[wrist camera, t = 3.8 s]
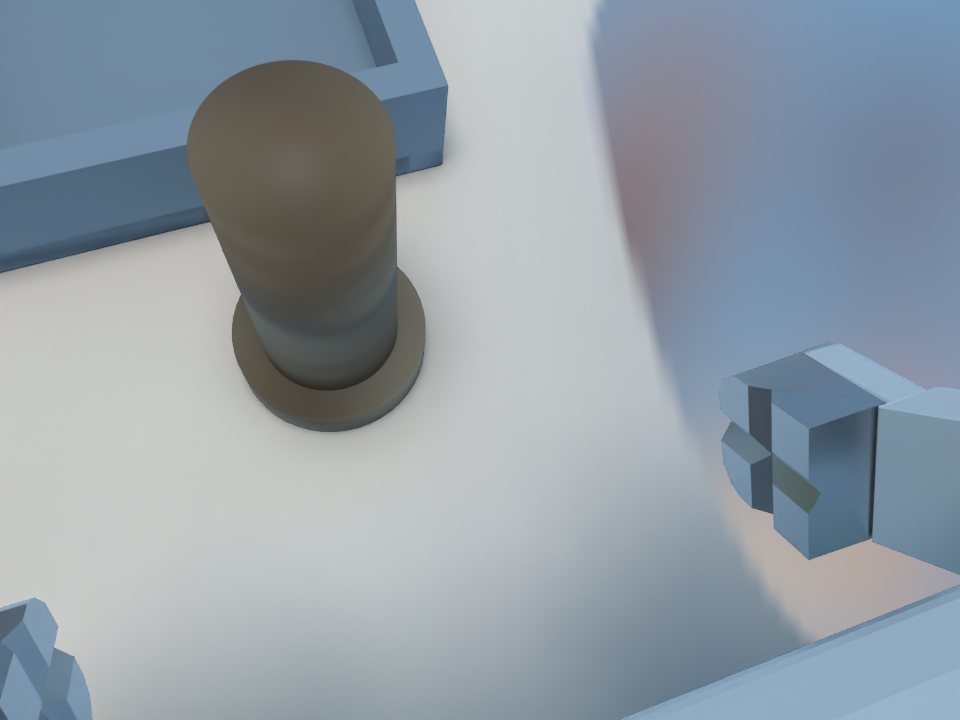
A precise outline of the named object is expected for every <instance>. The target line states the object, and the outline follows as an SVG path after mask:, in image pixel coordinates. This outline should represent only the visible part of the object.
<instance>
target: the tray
mask: <svg viewBox="0 0 960 720" xmlns="http://www.w3.org/2000/svg"><path fill="white" fill-rule="evenodd" d="M282 60H303V61H311V62H318V63H322V64H325V65H329V66H332V67H335V68H337V69H340V70H342V71H344V72H346V73H348V74H350V75H352V76H354V77H355V78H357V79H358V80H359V81H361V82H362V83H364V84H365V85H366V86H367V87H368V88H369V89H370V90H372V91H373V92H374V94H375V95H376V96H377V97H378V98H379V100H380V101H381V102H382V104H383V106H384V107H385V109H386V110H387V113H388V115H389V117H390V119H391V122H392V126H393V129H394V134H395V146H396V175H400V174H404V173H408V172H412V171H416V170H420V169H424V168H429V167H433V166H437V165H441V164H442V158H443V145H444V132H445V119H446V107H447V94H448V84H447V81H446V79H445V76H444V74H443V71H442V69H441V66H440V64H439V61H438V58H437V56H436V53H435V51H434V48H433V46H432V43H431V41H430V38H429V36H428V33H427V31H426V28H425V26H424V23H423V20H422V18H421V15H420V13H419V10H418V8H417V5H416V3H415V0H0V272H3V271H7V270H11V269H15V268H19V267H23V266H27V265H31V264H36V263H40V262H44V261H48V260H52V259H56V258H60V257H64V256H68V255H72V254H76V253H81V252H85V251H89V250H93V249H97V248H101V247H105V246H109V245H113V244H117V243H122V242H126V241H130V240H134V239H138V238H142V237H146V236H150V235H154V234H158V233H162V232H167V231H171V230H175V229H179V228H183V227H187V226H191V225H195V224H199V223H203V222H207V221H210V219H209V216H208V214H207V211H206V209H205V207H204V204H203V202H202V199H201V197H200V195H199V192H198V190H197V187H196V185H195V183H194V180H193V178H192V175H191V172H190V169H189V165H188V160H187V137H188V131H189V128H190V125H191V122H192V119H193V117H194V115H195V113H196V111H197V109H198V108H199V106H200V105H201V103H202V102H203V101H204V99H205V98H206V97H207V96H208V95H209V94H210V93H211V92H212V91H213V90H214V89H215V88H216V87H217V86H218V85H220V84H221V83H222V82H224V81H225V80H227V79H228V78H230V77H231V76H233V75H235V74H237V73H239V72H241V71H243V70H245V69H248V68H250V67H253V66H256V65H260V64H264V63H268V62H274V61H282Z"/></svg>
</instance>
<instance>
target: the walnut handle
mask: <svg viewBox="0 0 960 720" xmlns="http://www.w3.org/2000/svg"><path fill="white" fill-rule="evenodd" d="M187 160H188V165H189V169H190V172H191V175H192V178H193V180H194V183H195V185H196V187H197V190H198V192H199V195H200V197H201V199H202V202H203V204H204V207H205V209H206V211H207V214H208V216H209V219H210V221H211V223H212V226H213V228H214V231H215V233H216V235H217V238H218V240H219V243H220V245H221V247H222V250H223V252H224V255H225V257H226V259H227V262H228V264H229V267H230V269H231V271H232V274H233V276H234V279H235V281H236V283H237V286H238V288H239V291H240V293H241V296H240V298H239V301H238V303H237V306H236V309H235V313H234V317H233V324H232V342H233V347H234V353H235V356H236V359H237V361H238V364H239V366H240V368H241V370H242V372H243V374H244V376H245V378H246V380H247V382H248V384H249V386H250V387H251V389H252V391H253V392H254V394H255V395H256V397H257V398H258V399H259V401H260V402H261V403H262V404H263V405H264V406H265V407H266V408H267V409H268V410H270V411H271V412H272V413H274V414H275V415H276V416H278V417H279V418H281V419H283V420H284V421H286V422H288V423H291V424H293V425H295V426H298V427H302V428H305V429H309V430H315V431H322V432H337V431H346V430H351V429H355V428H359V427H362V426H364V425H367V424H370V423H372V422H374V421H376V420H378V419H380V418H381V417H383V416H384V415H386V414H387V413H389V412H390V411H391V410H393V409H394V408H395V407H396V406H397V405H398V404H399V403H400V402H401V401H402V400H403V399H404V398H405V396H406V395H407V394H408V393H409V391H410V389H411V388H412V386H413V385H414V383H415V381H416V379H417V376H418V374H419V371H420V368H421V365H422V360H423V354H424V342H425V318H424V311H423V308H422V304H421V301H420V298H419V296H418V294H417V291H416V290H415V288H414V286H413V285H412V283H411V281H410V280H409V279H408V278H407V276H406V275H405V274H404V273H403V272H402V271H401V270H400V269H399V268H398V267H397V232H396V146H395V134H394V129H393V126H392V122H391V119H390V117H389V115H388V113H387V110H386V109H385V107H384V106H383V104H382V102H381V101H380V100H379V98H378V97H377V96H376V95H375V94H374V92H373V91H372V90H370V89H369V88H368V87H367V86H366V85H365V84H364V83H362V82H361V81H359V80H358V79H357V78H355V77H354V76H352V75H350V74H348V73H346V72H344V71H342V70H340V69H337V68H335V67H332V66H329V65H325V64H322V63H318V62H311V61H303V60H282V61H274V62H268V63H264V64H260V65H256V66H253V67H250V68H248V69H245V70H243V71H241V72H239V73H237V74H235V75H233V76H231V77H230V78H228V79H227V80H225V81H224V82H222V83H221V84H220V85H218V86H217V87H216V88H215V89H214V90H213V91H212V92H211V93H210V94H209V95H208V96H207V97H206V98H205V99H204V101H203V102H202V103H201V105H200V106H199V108H198V109H197V111H196V113H195V115H194V117H193V119H192V122H191V125H190V128H189V131H188V137H187Z"/></svg>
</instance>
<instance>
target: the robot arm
mask: <svg viewBox="0 0 960 720" xmlns="http://www.w3.org/2000/svg"><path fill="white" fill-rule="evenodd" d="M719 399H720V410H721V411H722V412H723V413H724V414H725V415H726V416H727V417H728V418H729V419H730V420H731V423H730V425H729V427H728V429H727V431H726V432H725V434H724V436H723V438H722V440H721V441H722V452H723V463H724V465H725V468H726V471H727V473H728V476H729V479H730V481H731V484H732V485H733V487H734V488H735V490H736V491H737V493H738V494H739V495H740V497H741V498H742V499H743V500H744V501H745V502H746V503H748V505H750V506H751V507H752V508H754V509H758V510H761V511H765V512H768V513H772V514H774V529H775V530H776V531H777V532H779V533H780V534H781V535H782V536H783V537H784V538H785V539H786V540H787V541H788V542H790V543H791V544H792V545H793V546H794V547H795V548H796V549H797V550H798V551H799V552H801V553H802V554H803V555H804V556H805V557H806V558H807V559H808V560H810V559H813V558H816V557H819V556H822V555H825V554H827V553H830V552H834V551H836V550H839V549H842V548H845V547H848V546H851V545H854V544H857V543H860V542H863V541H866V540H869V539H871V538H872V542H874V543H877V544H880V545H882V546H885V547H888V548H890V549H893V550H896V551H898V552H901V553H904V554H906V555H909V556H911V557H914V558H917V559H919V560H922V561H925V562H928V563H930V564H933V565H935V566H938V567H940V568H943V569H946V570H949V571H951V572H954V573H957V574H959V575H960V389H953V388H946V387H934V388H931V389H928V390H926V389H924V388H922V387H920V386H918V385H917V384H915V383H913V382H911V381H909V380H907V379H905V378H903V377H901V376H900V375H898V374H896V373H894V372H892V371H890V370H888V369H887V368H885V367H883V366H881V365H879V364H877V363H876V362H874V361H872V360H870V359H868V358H866V357H864V356H863V355H861V354H859V353H857V352H855V351H853V350H851V349H850V348H848V347H846V346H844V345H842V344H840V343H832V342H826V343H823V344H821V345H818V346H815V347H813V348H810V349H807V350H804V351H801V352H799V353H796V354H793V355H792V356H789V357H786V358H783V359H780V360H777V361H774V362H771V363H768V364H765V365H763V366H760V367H757V368H754V369H751V370H748V371H745V372H743V373H739V374H737V375H734V376H731V377H728V378H725V379H723V380H722V383H721V387H720V391H719ZM57 630H58V625H57V623H56V621H55V620H54V618H53V616H52V614H51V613H50V611H49V609H48V607H47V606H46V604H45V603H44V602H42V601H40V600H38V599H36V598H31V599H28V600H25V601H21V602H18V603H15V604H11V605H8V606H5V607H1V608H0V720H92V712H91V702H90V694H89V691H88V688H87V685H86V682H85V679H84V675H83V673H82V671H81V669H80V667H79V665H78V663H77V661H76V659H75V657H73V656H71V655H69V654H67V653H65V652H62V651H60V650H58V649H56V648H54V645H55V640H56V635H57ZM620 720H960V585H957V586H955V587H953V588H950V589H947V590H945V591H942V592H940V593H937V594H935V595H933V596H930V597H927V598H925V599H922V600H920V601H917V602H915V603H912V604H909V605H907V606H904V607H902V608H900V609H897V610H894V611H892V612H889V613H887V614H884V615H882V616H879V617H877V618H874V619H872V620H869V621H867V622H864V623H862V624H859V625H856V626H854V627H852V628H849V629H846V630H844V631H841V632H839V633H836V634H834V635H831V636H829V637H826V638H824V639H821V640H819V641H816V642H814V643H811V644H809V645H806V646H804V647H801V648H798V649H796V650H793V651H791V652H788V653H786V654H783V655H781V656H778V657H776V658H773V659H771V660H768V661H766V662H763V663H761V664H758V665H756V666H753V667H751V668H748V669H746V670H743V671H740V672H738V673H735V674H733V675H730V676H728V677H725V678H723V679H720V680H718V681H715V682H713V683H710V684H708V685H705V686H703V687H700V688H698V689H695V690H693V691H690V692H688V693H685V694H682V695H680V696H677V697H675V698H672V699H670V700H667V701H665V702H662V703H660V704H657V705H655V706H652V707H650V708H647V709H645V710H642V711H640V712H637V713H635V714H632V715H630V716H627V717H625V718H622V719H620Z"/></svg>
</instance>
